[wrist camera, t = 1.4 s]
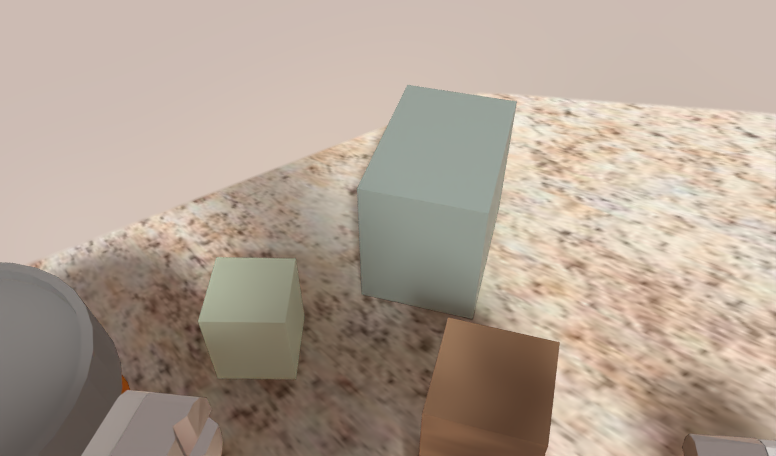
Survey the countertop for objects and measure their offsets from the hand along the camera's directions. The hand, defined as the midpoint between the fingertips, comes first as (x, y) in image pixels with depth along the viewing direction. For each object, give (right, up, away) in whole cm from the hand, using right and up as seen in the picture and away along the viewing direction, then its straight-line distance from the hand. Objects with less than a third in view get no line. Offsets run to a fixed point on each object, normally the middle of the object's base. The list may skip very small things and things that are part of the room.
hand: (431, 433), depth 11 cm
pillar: (+4, -11, +24) cm, 27 cm away
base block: (+3, +2, +38) cm, 38 cm away
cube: (-9, -4, +31) cm, 33 cm away
